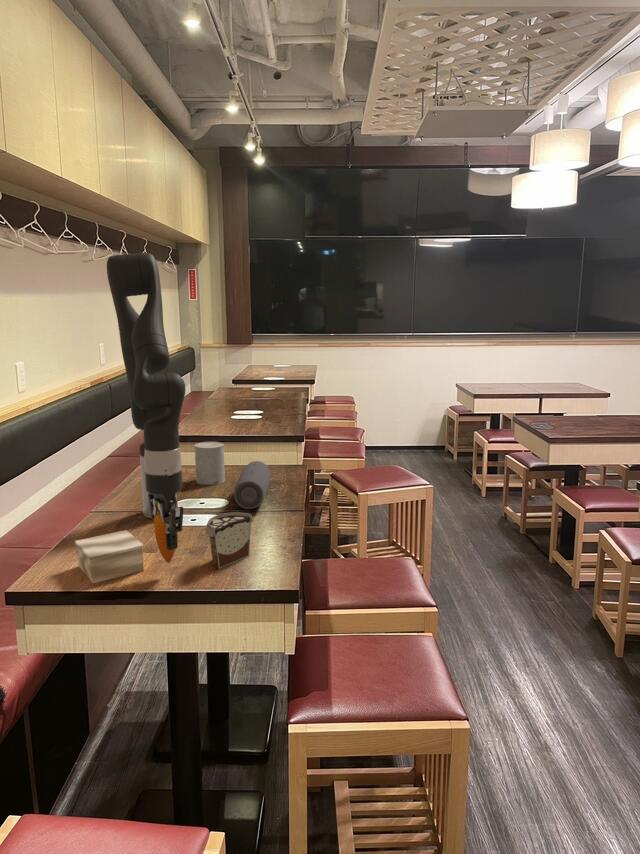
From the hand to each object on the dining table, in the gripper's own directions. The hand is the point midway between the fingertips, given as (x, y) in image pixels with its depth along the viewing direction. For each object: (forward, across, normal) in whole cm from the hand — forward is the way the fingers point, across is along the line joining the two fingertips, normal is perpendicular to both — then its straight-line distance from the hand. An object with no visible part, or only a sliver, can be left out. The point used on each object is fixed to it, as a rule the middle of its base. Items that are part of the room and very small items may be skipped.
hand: (167, 544), depth 136 cm
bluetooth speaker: (+8, -35, +41) cm, 54 cm away
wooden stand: (+7, -11, -9) cm, 16 cm away
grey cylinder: (+8, -62, +40) cm, 74 cm away
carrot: (+4, 0, 0) cm, 4 cm away
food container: (+7, 0, +14) cm, 16 cm away
